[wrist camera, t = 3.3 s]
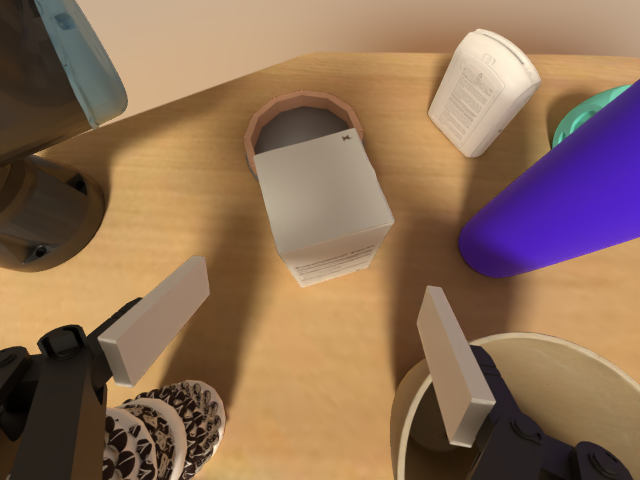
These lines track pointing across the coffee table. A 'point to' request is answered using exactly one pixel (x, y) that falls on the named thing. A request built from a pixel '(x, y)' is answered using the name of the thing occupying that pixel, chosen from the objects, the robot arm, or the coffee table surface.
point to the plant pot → (522, 405)
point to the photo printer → (482, 91)
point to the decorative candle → (163, 433)
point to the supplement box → (323, 206)
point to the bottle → (565, 198)
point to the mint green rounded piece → (585, 113)
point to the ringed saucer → (297, 122)
